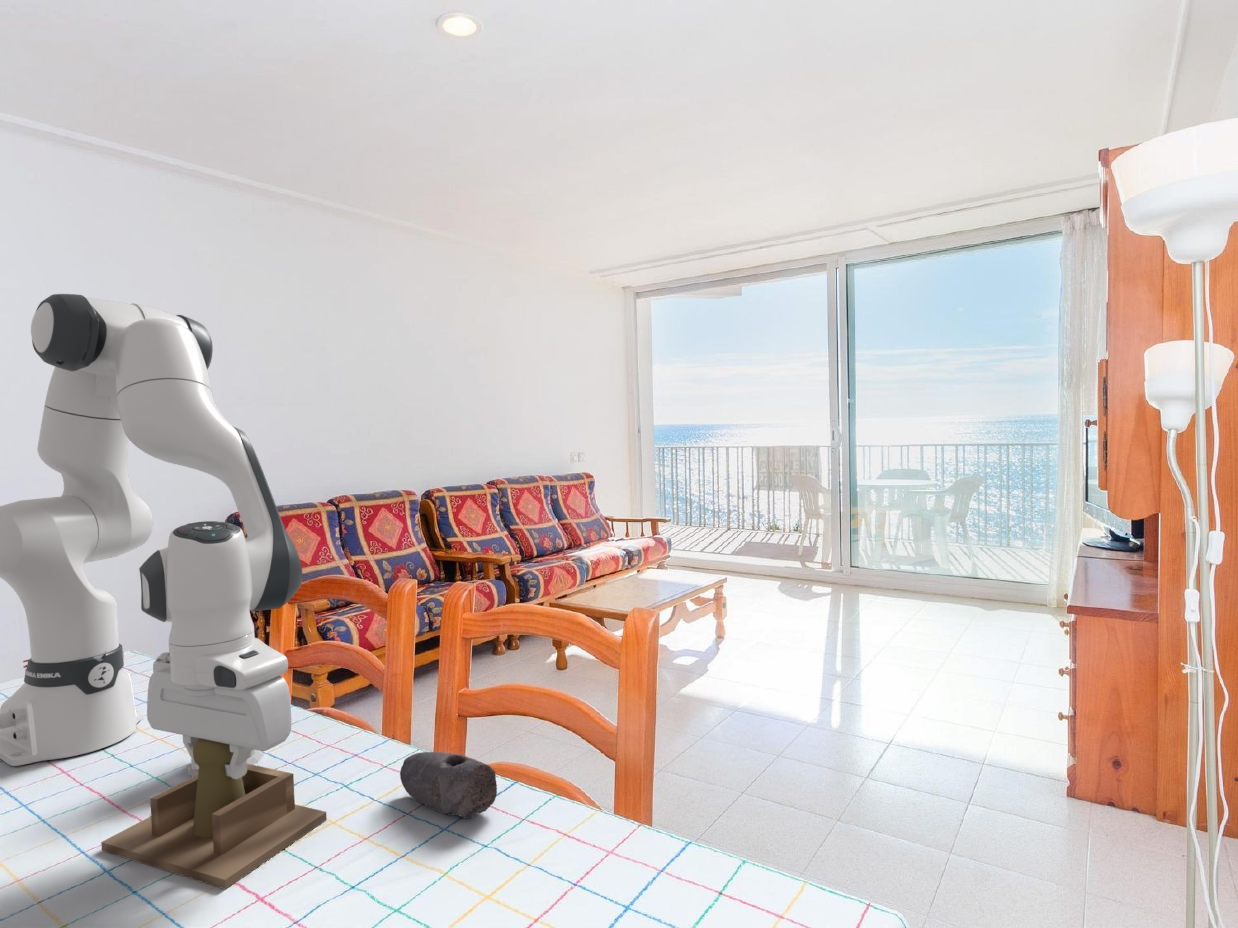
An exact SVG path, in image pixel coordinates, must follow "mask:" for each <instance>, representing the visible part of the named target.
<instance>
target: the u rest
mask: <svg viewBox="0 0 1238 928" xmlns="http://www.w3.org/2000/svg"><path fill="white" fill-rule="evenodd" d="M294 779H295V778H294V773H292V772H286V771H282V770H279V769H275V768H273V769H272V768H269V767H264V766H260V765H255V764H254V765H251V764H247V773H246V774H245V775H244V776H242V780H243V785H244V790H245V796H243V797H241V798H239V799H237V800H236V801H234V802H232V803H230V804H229V805H227V806H225V807H223V808H222V809H220V810H218V811H216V812H214V813H213V814H212V827H213V837H212V838H201V837H197V836H195V835H194V834H193V823H194V813H195V803H196V792H197V782H198V774H197V775H195V776H191V777H190V778H187V779H186V780H183V781H182V782H179V783H178V784H175V785H174V786H171V787H169V788H167V789H165V790H163V791H161V792H159V793H157V794H155V795H153V796H151V797H149V800H150V802H149V803H150V816H149V817H147V818H145V819H143V820H141V821H139V822H137V823H135V824H133V825H131V826H130V827H128V828H126V829H123V830H122V831H120V832H118V833H116V834H114V835H112V836H110V837H108V838H107V839H105V840H103V841H101V842H100V843H101V845H100V846H101V851H103V852H105V853H107V854H112V855H115V856H119V857H122V858H124V859H128V860H131V861H134V862H138V863H141V864H144V865H147V866H151V867H153V868H157V869H159V870H163V871H167V872H169V873H173V874H175V875H178V876H183V877H186V878H188V879H192V880H195V881H198V882H201V883H205V884H208V885H211V886H215V887H217V888H221V889H224V890H227V889H228V888H229V887H231V886H232V885H234V884H235V883H237V882H238V881H240V880H241V879H242V878H244V877H246V876H247V875H248V874H250V873H252V872H253V871H254V870H255V869H257V868H258V867H259V868H260V866H262V865H263V864H264V863H266V862H267V861H269V860H270V859H271V858H273V857H274V856H276V855H277V854H279V853H280V852H282V851H283V850H285V849H286V848H288V847H289V846H291V845H292V844H294V843H296V842H297V841H298V840H299V839H301V838H302V837H303V836H305V835H307V834H308V833H309V832H311V831H313V830H314V829H316V828H317V827H318V826H320V825H321V824H323V823H325V821H327V811H324V810H321V809H315V808H311V807H307V806H303V805H299V804H296V803H295V784H294V783H295V781H294Z"/></svg>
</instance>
